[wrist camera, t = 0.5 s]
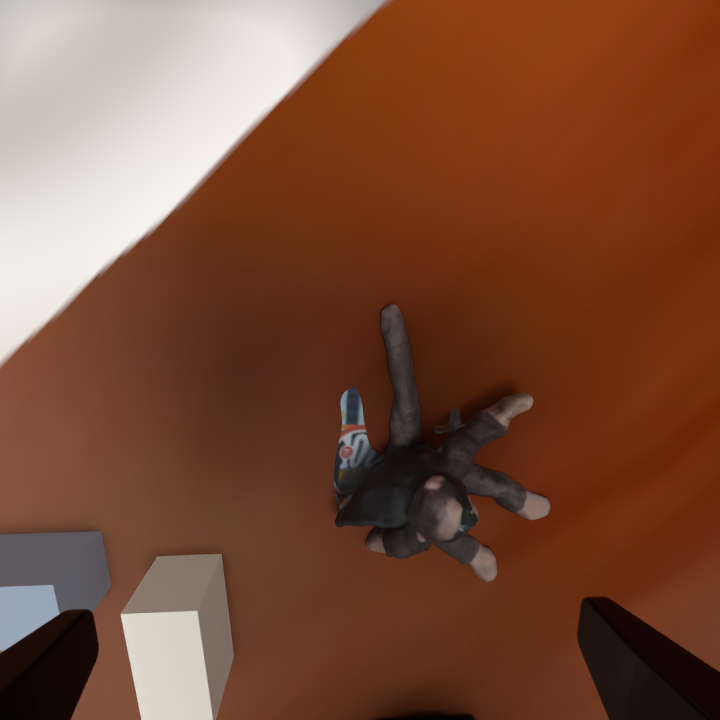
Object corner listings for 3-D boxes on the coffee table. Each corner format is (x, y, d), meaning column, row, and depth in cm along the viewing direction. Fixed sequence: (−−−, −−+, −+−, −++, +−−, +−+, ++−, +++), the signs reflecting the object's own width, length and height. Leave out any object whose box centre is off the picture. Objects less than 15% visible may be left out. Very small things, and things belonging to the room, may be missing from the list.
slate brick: (102, 529, 23) (53, 585, 19) (112, 583, 24) (67, 648, 20) (-30, 533, 23) (-108, 590, 19) (-15, 588, 24) (-86, 654, 20)
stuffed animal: (442, 620, 24) (300, 620, 15) (368, 481, 31) (241, 427, 22) (614, 488, 22) (560, 405, 13) (494, 371, 29) (409, 266, 20)
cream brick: (234, 653, 25) (214, 726, 21) (175, 656, 25) (143, 729, 21) (222, 551, 24) (197, 610, 20) (158, 554, 23) (120, 614, 20)
